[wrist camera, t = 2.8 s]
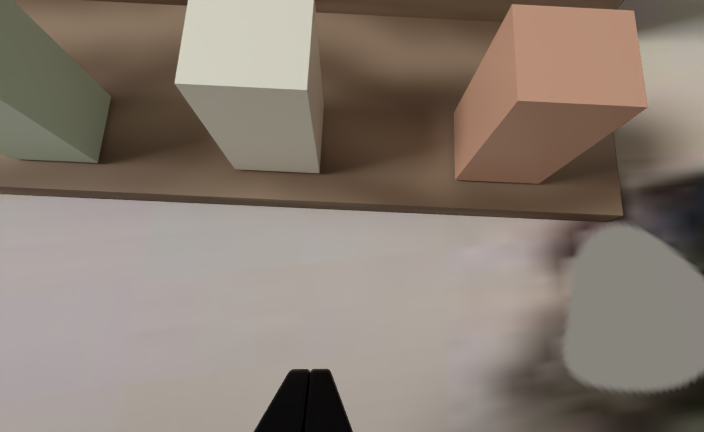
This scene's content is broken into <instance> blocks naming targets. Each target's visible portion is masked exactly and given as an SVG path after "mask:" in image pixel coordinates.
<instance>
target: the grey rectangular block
mask: <svg viewBox="0 0 704 432" xmlns="http://www.w3.org/2000/svg"><path fill="white" fill-rule="evenodd" d="M174 84H175V85H176V86H177V88H178V89H179V91H180V92H181V93H182V95H183V96H184V98H185V99H186V101H187V102H188V103H189V105H190V106H191V108H192V109H193V111H194V112H195V113H196V115H197V116H198V118H199V119H200V120H201V122H202V123H203V125H204V126H205V128H206V129H207V130H208V132H209V133H210V135H211V136H212V137H213V139H214V140H215V142H216V143H217V145H218V146H219V147H220V149H221V150H222V152H223V153H224V155H225V156H226V157H227V159H228V160H229V162H230V163H231V164H232V166H233V167H234V169H239V170H260V171H281V172H302V173H320V159H321V144H322V128H323V112H324V103H323V91H322V79H321V67H320V56H319V44H318V32H317V20H316V9H315V0H188V3H187V9H186V15H185V22H184V28H183V34H182V40H181V46H180V52H179V59H178V65H177V71H176V77H175V83H174Z"/></svg>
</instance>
